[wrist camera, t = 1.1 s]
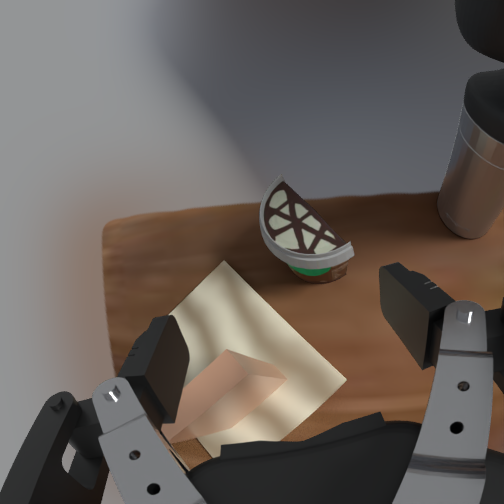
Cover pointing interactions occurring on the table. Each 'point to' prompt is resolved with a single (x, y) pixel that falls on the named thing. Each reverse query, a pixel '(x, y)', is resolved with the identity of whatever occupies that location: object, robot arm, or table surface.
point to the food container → (301, 236)
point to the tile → (222, 395)
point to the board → (253, 355)
